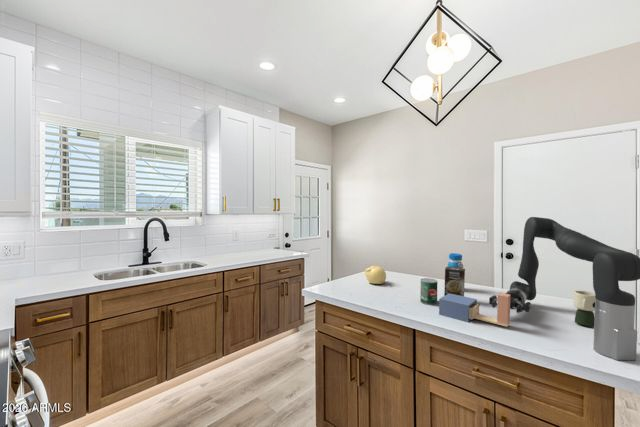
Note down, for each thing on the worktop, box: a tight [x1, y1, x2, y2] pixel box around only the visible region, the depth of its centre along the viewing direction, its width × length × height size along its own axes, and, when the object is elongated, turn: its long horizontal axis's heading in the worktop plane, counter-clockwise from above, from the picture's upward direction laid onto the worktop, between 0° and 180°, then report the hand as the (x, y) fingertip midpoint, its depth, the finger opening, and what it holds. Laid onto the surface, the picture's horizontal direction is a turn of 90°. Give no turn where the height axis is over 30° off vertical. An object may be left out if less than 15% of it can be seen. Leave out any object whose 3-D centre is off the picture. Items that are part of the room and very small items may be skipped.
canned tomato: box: [419, 277, 439, 306], centre depth 147 cm, size 8×8×11 cm
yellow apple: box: [364, 265, 387, 285], centre depth 182 cm, size 12×12×11 cm
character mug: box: [573, 290, 595, 328], centre depth 120 cm, size 11×7×13 cm, turn 135°
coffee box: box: [443, 266, 466, 297], centre depth 150 cm, size 9×6×16 cm
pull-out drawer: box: [469, 292, 511, 327], centre depth 125 cm, size 23×9×12 cm, turn 46°
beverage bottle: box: [446, 252, 464, 269], centre depth 169 cm, size 8×8×20 cm
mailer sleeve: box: [438, 293, 478, 323], centre depth 131 cm, size 12×11×7 cm
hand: (505, 307), depth 120 cm, fingers open, 8 cm apart
